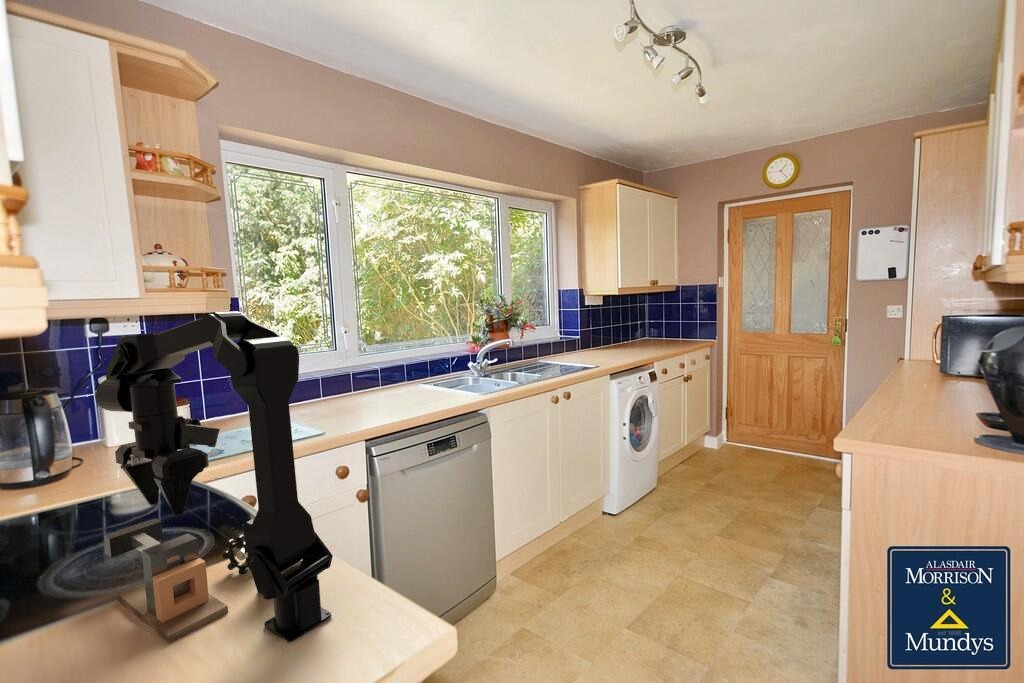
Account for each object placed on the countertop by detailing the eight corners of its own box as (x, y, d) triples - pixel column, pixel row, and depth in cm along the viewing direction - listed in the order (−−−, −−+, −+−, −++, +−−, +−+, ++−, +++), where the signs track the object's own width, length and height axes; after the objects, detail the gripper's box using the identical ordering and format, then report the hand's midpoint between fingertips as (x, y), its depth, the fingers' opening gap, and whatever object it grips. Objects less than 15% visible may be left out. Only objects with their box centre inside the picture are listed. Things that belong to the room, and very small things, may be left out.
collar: (208, 600, 73) (205, 561, 72) (162, 622, 68) (158, 581, 68) (202, 595, 74) (199, 557, 74) (156, 617, 69) (152, 576, 69)
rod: (199, 560, 75) (198, 541, 74) (145, 583, 69) (143, 562, 69) (156, 535, 84) (155, 518, 83) (105, 553, 78) (103, 535, 78)
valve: (268, 539, 94) (223, 574, 82) (266, 506, 93) (220, 536, 81) (300, 541, 93) (259, 576, 81) (298, 507, 92) (256, 537, 81)
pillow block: (202, 595, 74) (197, 538, 73) (156, 617, 69) (150, 556, 68) (193, 589, 76) (188, 533, 75) (147, 610, 71) (141, 550, 70)
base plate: (228, 612, 72) (227, 605, 71) (168, 643, 65) (167, 636, 65) (174, 576, 82) (173, 570, 82) (118, 600, 75) (117, 593, 75)
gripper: (238, 406, 79) (247, 501, 80) (184, 399, 89) (193, 483, 90) (158, 422, 70) (170, 529, 71) (109, 412, 80) (120, 506, 81)
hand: (166, 509), depth 79 cm, fingers open, 9 cm apart
